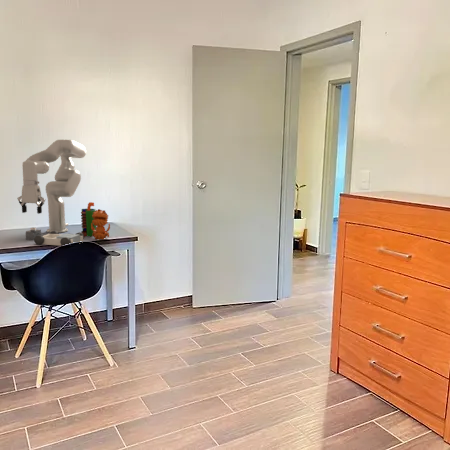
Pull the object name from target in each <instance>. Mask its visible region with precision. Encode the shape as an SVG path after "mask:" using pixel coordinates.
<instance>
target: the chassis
mask: <svg viewBox="0 0 450 450" xmlns="http://www.w3.org/2000/svg"><path fill="white" fill-rule="evenodd" d="M84 238H85V236H84V235H83V234H82V233H81V231H79V232H77V233H58V232H57V231H51V232H50V233H49V232H48V233H47V234H44V235H42V234H41V235H39V236H36V237H35V238H34V240H33V241H34V244H35V245H37V246H40V245H49V246H58V247H59V246H61V245H65V244H69V243H73V242H80V241H83V242H84ZM61 247H62V246H61Z"/></svg>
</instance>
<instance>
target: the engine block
mask: <svg viewBox="0 0 450 450" xmlns="http://www.w3.org/2000/svg"><path fill="white" fill-rule="evenodd" d="M39 235H41V236H42V229H37V227H30V228H29V230H26V231H25V239H26V240H27V241H34V238H35V237H36V236H39Z"/></svg>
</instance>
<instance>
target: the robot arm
mask: <svg viewBox="0 0 450 450" xmlns="http://www.w3.org/2000/svg"><path fill="white" fill-rule="evenodd" d="M86 155H87V150H86V147H85V146H84V145H83V144H82V143H79V142H77V141H75V140H72V139H57V140H55V141H53V142H52V143H51V144H50V145H49V146H48V147H47V148H45V149H44V150H41V151H39V152H36V153H34V154H32V155H30V156H29V157H27V158H26V160H25V161H23V162H22V182H23V183H22V184H23V185H22V186H21V195H20V196H18V197H17V201H18V203H19V205H20V206H21V213H22V214H25V213H27V212H28V209H27V204H36V206H37V207H36V210H37V211H36V213H37V214H38V215H39V214H42V212H43V205H45V202H46V198H44V197H43V196H42V191H41V188H40V185H39V184H40V181H39V180H38V174H40V175H42V174H47V173H48V172H49V171H50V165H49V164H50V163H53V162H56V161H57V160H58V159H59V158H60V160H61V163H60V165H59V167H58V169H57V171H56V172H55V175H54V180H53V181H52V180H51V181H49V182H47V183H46V185H45V194H46V197H47V206H48V207H47V208H48V226H49V227H48V228H47V229H46V232H47V233H48V234H49V233H50V232H51V231H57V232H58V233H59V234H63V233H66V232H69V229H68V228H67V227H68V226H69V223H67V222H66V217H65V216H66V213H65V202H64V200H63V198H71V197H72V196H73V195H75V192H76V191H77V189H78V187H79V185H80V182H81V179H82V175H81V173H80V171H79V170H77V169H75V164H74V161H72V159H83V158H85V156H86Z"/></svg>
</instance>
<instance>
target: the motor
mask: <svg viewBox="0 0 450 450" xmlns="http://www.w3.org/2000/svg"><path fill="white" fill-rule="evenodd" d="M94 206H95V203H94V202H91V201H90V202H88V203H87V208H81V212H80V214H81V215H80V217H81V218H80V219H81V220H80V221H81V222H80V224H81V228H82V231H80V232H81V233H82V234H83V235H84V237H87V236H90V237H92V235H93V232H94V231H93V230H92V229H91V223H92V221H93V220H94V218H93V217H92V215H93V212H95V211H96V210H97V209H96V208H91V207H94ZM93 227H94V228H95V230H96V227H97V226H95V225H94V224H93Z"/></svg>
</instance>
